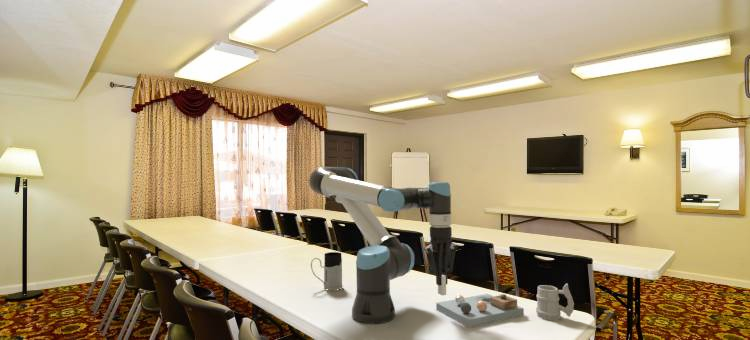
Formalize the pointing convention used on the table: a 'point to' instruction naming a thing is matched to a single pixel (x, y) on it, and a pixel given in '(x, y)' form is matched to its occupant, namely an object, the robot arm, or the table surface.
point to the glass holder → (332, 271)
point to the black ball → (465, 307)
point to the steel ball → (459, 300)
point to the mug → (552, 302)
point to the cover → (503, 302)
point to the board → (477, 311)
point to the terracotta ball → (481, 306)
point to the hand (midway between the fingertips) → (442, 294)
